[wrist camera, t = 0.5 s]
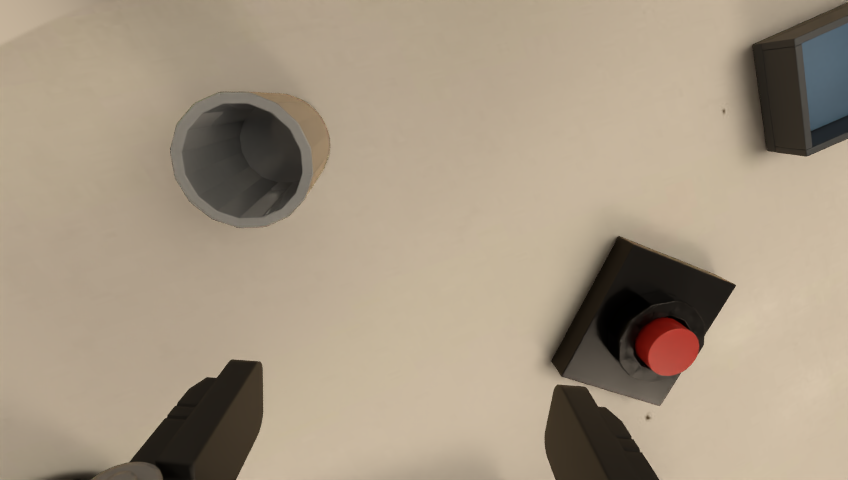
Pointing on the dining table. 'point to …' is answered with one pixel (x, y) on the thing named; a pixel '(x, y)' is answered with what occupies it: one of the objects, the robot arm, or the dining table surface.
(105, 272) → the dining table surface
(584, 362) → the control block
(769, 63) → the tray
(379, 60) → the dining table surface
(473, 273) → the dining table surface
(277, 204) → the tumbler
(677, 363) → the button
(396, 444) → the dining table surface
